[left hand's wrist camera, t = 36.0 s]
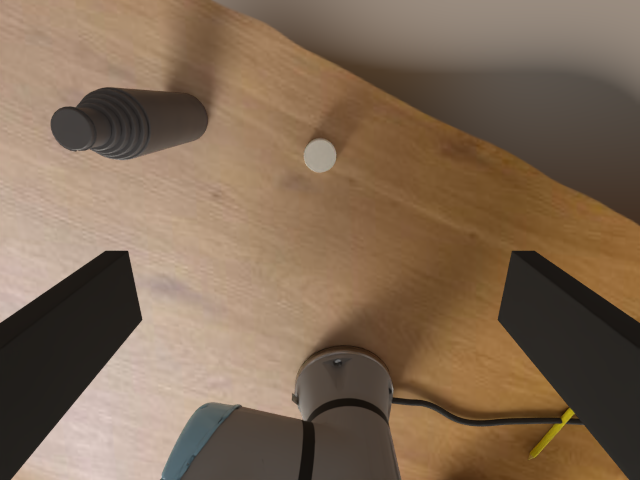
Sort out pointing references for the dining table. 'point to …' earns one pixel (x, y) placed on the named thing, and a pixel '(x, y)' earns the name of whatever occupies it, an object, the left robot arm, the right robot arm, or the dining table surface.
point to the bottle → (129, 122)
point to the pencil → (551, 434)
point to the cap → (320, 155)
